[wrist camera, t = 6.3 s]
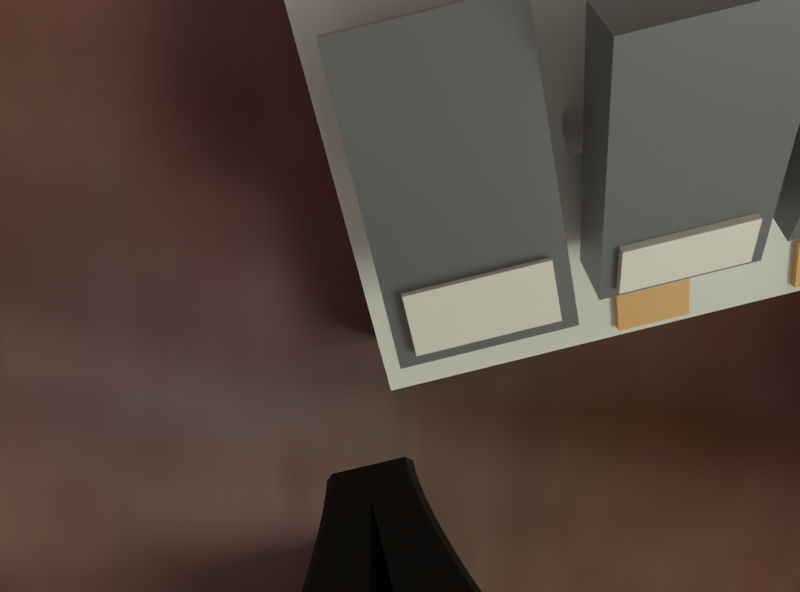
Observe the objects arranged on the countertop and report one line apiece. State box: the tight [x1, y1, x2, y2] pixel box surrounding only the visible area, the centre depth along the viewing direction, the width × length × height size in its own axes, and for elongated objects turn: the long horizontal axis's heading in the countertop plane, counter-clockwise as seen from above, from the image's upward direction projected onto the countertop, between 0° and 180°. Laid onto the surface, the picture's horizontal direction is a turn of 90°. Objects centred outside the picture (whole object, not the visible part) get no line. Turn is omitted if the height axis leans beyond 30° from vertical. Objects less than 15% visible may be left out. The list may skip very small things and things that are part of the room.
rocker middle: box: [580, 0, 800, 300], centre depth 16 cm, size 4×7×2 cm, turn 12°
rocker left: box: [317, 0, 579, 369], centre depth 16 cm, size 4×7×2 cm, turn 12°
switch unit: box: [284, 0, 800, 391], centre depth 18 cm, size 15×13×4 cm
